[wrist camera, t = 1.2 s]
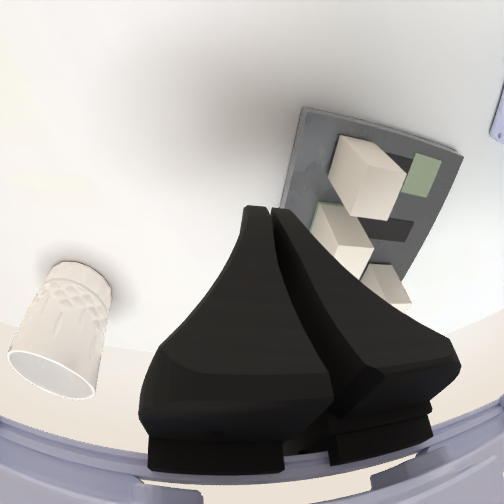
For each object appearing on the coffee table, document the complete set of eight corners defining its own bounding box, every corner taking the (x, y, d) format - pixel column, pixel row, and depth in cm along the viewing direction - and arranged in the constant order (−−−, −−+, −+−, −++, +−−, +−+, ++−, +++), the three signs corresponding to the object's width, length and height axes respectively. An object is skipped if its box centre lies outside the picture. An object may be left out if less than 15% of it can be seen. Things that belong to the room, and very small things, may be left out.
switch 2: (351, 207, 20) (374, 248, 17) (338, 241, 22) (356, 284, 19) (319, 203, 20) (338, 245, 17) (308, 238, 22) (323, 282, 19)
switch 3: (392, 265, 24) (411, 303, 21) (378, 289, 26) (394, 326, 23) (369, 263, 24) (387, 303, 21) (356, 288, 26) (371, 328, 23)
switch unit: (455, 150, 19) (464, 157, 18) (388, 286, 28) (393, 296, 27) (302, 106, 17) (307, 112, 16) (261, 281, 26) (263, 293, 25)
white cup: (102, 322, 29) (82, 406, 22) (39, 288, 25) (5, 371, 18) (131, 283, 26) (107, 385, 18) (56, 240, 22) (7, 337, 14)
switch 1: (373, 142, 17) (406, 173, 14) (360, 183, 19) (387, 220, 16) (339, 134, 17) (368, 165, 13) (327, 177, 19) (350, 215, 15)
